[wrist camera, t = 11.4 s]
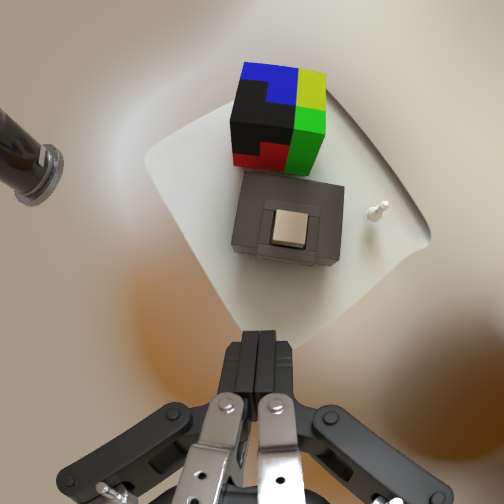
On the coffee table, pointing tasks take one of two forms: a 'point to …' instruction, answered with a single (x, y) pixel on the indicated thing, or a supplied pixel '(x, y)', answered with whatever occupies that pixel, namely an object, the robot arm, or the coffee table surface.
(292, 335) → the coffee table surface
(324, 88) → the puzzle toy
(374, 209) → the chess pawn
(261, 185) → the dark grey block
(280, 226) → the beige push button
